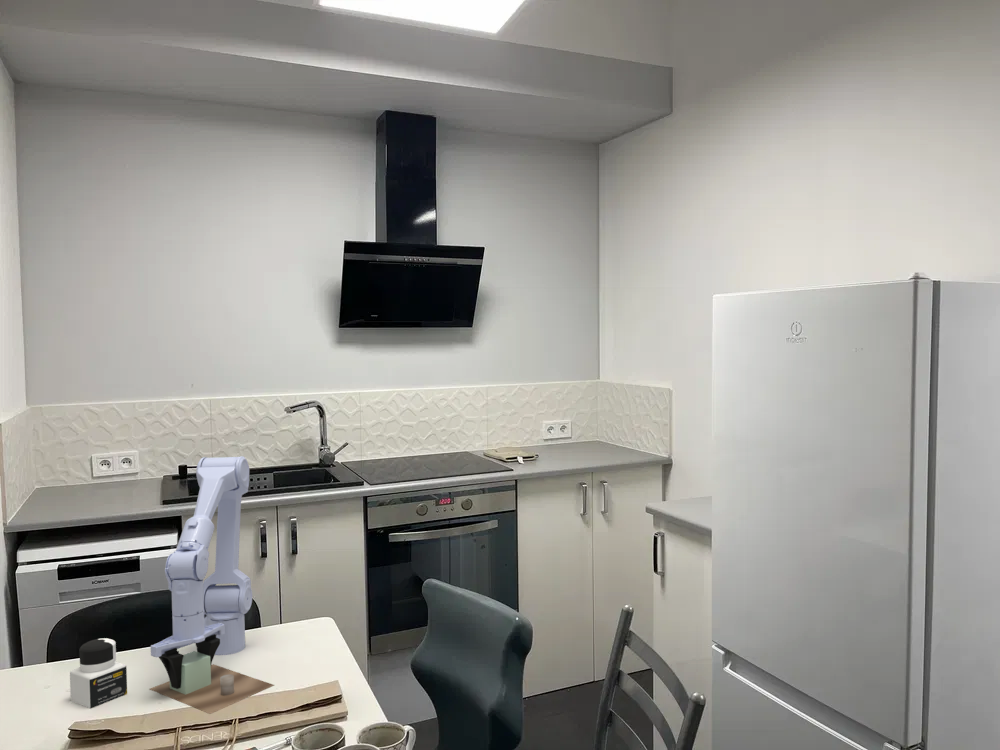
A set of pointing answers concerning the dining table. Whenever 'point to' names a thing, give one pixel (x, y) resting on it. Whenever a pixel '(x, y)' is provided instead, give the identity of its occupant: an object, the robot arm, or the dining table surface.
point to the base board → (217, 690)
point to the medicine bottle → (98, 674)
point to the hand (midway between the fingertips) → (190, 681)
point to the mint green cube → (194, 672)
